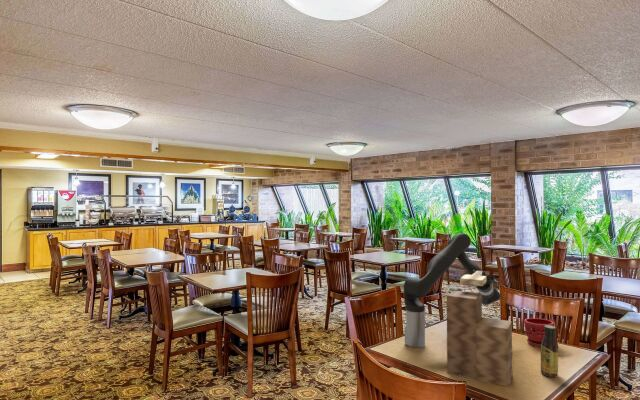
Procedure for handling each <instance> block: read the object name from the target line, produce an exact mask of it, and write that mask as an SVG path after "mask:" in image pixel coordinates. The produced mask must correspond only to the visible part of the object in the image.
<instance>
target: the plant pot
mask: <svg viewBox="0 0 640 400" xmlns="http://www.w3.org/2000/svg"><path fill="white" fill-rule="evenodd" d="M523 322H524V331H525V334H526V336H527V339H526V341H527V343H528V344H529V345H531V347H537V348H541V343H542V341H543V338H544V335H545V330H544V326H545V325H550V326H554V327H555V322H554V321H552V320H550V319H545V318H539V317H538V318H537V317H529V318H525V319H524V321H523Z"/></svg>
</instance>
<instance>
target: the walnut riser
mask: <svg viewBox="0 0 640 400" xmlns="http://www.w3.org/2000/svg"><path fill="white" fill-rule="evenodd" d="M482 305H483V304H482V293H479V292H471V291H464V290H463V291H455V290H454V291H452V292H451V293H450V294H449V293H448V294H447V295H446V368H447V369H446V374H451V375H454V374H455V376H459V377H464V378H468V379H473V380H477V381H481V382H485V383H490V384H494V385H499V386H502V385H503V386H502V387H507V388H509V386H510V384H511V380H512V378H513V336H512V335H513V322H512V321H511V320H506V319H505V320H504V319H498V318H492V317H483V314H482V313H483V308H482V307H483V306H482Z"/></svg>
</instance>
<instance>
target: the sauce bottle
mask: <svg viewBox="0 0 640 400" xmlns="http://www.w3.org/2000/svg"><path fill="white" fill-rule="evenodd" d="M544 330H545V335H544V338H543V341H542V343H541V347H540V373H541V375H542V376H545V377H549V378H556V377H558V375H559V374H558V373H559V344H558V341H557V339H556V330H557V328H556V326H555V325H554V326H550V325H545V326H544Z"/></svg>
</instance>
